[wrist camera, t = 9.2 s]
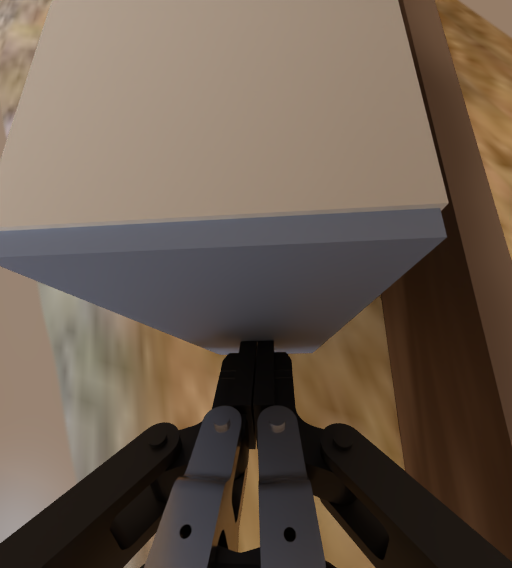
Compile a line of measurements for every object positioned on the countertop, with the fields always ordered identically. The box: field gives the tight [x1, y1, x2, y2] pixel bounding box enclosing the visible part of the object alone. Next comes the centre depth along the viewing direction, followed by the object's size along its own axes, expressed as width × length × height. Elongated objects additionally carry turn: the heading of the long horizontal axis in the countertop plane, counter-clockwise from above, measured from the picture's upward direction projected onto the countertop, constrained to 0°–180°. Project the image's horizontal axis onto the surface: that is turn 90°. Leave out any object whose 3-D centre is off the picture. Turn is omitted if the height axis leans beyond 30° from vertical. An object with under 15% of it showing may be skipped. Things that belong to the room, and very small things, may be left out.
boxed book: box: [0, 0, 449, 355], centre depth 13 cm, size 6×14×16 cm, turn 1°
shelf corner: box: [381, 0, 512, 561], centre depth 15 cm, size 12×32×12 cm, turn 0°
